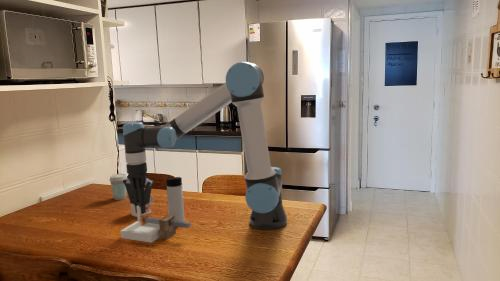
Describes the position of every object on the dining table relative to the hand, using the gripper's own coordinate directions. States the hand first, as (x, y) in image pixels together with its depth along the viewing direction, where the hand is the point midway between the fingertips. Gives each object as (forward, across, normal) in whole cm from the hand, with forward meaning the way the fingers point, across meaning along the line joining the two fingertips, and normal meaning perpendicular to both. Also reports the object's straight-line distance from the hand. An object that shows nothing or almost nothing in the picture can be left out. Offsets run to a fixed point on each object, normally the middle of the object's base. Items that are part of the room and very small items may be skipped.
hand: (141, 221), depth 152 cm
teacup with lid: (+5, +14, -19) cm, 24 cm away
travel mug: (+5, -8, -12) cm, 15 cm away
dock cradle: (+5, -2, 0) cm, 5 cm away
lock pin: (+1, -11, 0) cm, 11 cm away
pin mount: (+5, -12, 0) cm, 13 cm away
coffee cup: (+5, +39, -33) cm, 51 cm away
